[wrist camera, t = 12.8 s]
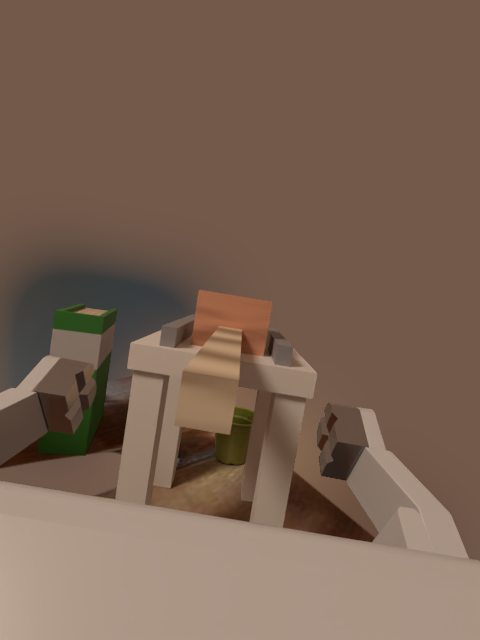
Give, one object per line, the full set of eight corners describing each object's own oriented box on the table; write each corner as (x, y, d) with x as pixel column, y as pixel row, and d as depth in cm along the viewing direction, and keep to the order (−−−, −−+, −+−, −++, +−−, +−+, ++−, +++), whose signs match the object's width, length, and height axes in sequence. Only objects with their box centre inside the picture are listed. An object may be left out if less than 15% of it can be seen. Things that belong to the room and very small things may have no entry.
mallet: (291, 444, 15) (315, 311, 15) (112, 415, 15) (131, 281, 15) (260, 346, 44) (268, 301, 44) (199, 336, 44) (206, 290, 44)
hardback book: (66, 413, 74) (80, 303, 72) (102, 416, 75) (117, 308, 74) (37, 453, 57) (55, 310, 55) (85, 455, 58) (103, 317, 57)
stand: (272, 615, 34) (320, 353, 32) (96, 586, 34) (133, 322, 32) (261, 490, 56) (289, 329, 54) (153, 473, 56) (178, 311, 54)
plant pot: (263, 460, 67) (271, 418, 66) (234, 476, 59) (242, 428, 59) (227, 442, 72) (233, 402, 72) (196, 454, 65) (203, 410, 64)
